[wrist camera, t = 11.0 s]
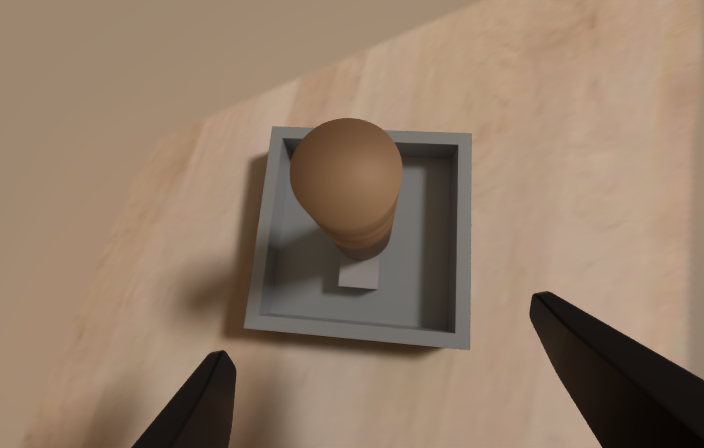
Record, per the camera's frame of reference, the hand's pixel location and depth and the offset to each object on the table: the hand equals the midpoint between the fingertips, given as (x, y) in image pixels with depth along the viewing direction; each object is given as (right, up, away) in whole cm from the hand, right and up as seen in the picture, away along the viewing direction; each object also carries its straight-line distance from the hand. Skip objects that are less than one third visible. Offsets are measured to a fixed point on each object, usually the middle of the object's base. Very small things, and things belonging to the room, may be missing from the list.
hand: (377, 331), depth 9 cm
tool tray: (0, +2, +13) cm, 14 cm away
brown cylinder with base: (0, +2, +13) cm, 13 cm away
